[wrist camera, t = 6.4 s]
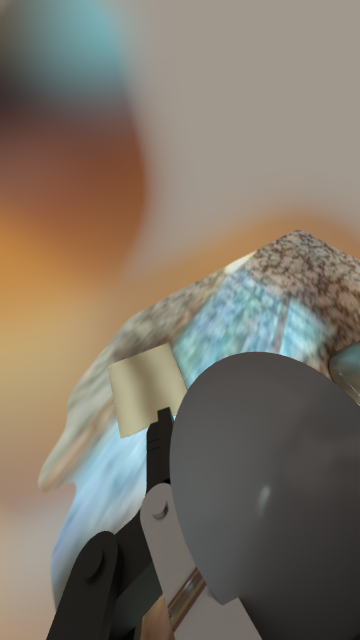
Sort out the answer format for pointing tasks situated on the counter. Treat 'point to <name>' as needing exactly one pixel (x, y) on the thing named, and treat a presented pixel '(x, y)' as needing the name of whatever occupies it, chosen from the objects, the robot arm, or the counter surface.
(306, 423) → the spice jar
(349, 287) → the counter surface
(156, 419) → the maple base
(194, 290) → the counter surface
